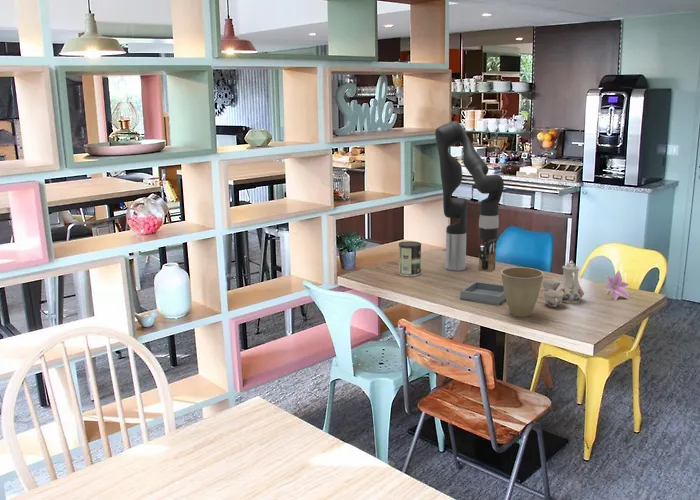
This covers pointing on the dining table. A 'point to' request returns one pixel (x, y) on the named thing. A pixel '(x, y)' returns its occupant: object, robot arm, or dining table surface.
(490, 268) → the walnut block
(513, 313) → the plant pot
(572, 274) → the chinaware
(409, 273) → the coffee can
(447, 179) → the robot arm
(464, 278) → the dining table surface
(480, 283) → the grey tray
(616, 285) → the lily
